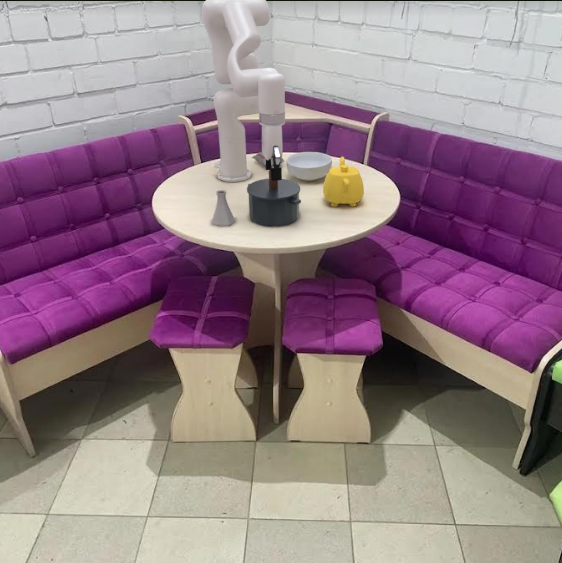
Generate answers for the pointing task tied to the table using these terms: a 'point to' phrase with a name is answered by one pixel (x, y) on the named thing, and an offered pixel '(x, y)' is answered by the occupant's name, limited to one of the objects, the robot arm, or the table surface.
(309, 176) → the cereal bowl
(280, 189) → the pot lid
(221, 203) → the flask
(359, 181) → the teapot
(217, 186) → the table surface
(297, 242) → the table surface
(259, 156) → the packaged food
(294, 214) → the pot
